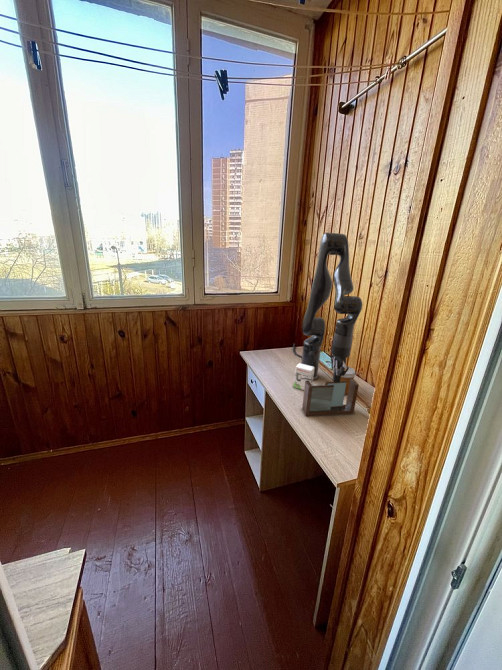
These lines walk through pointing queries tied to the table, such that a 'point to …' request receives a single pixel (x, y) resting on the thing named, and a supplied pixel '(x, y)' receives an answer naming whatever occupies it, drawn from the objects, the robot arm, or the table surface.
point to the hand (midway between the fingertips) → (336, 381)
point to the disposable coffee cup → (348, 377)
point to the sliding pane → (337, 391)
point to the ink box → (303, 375)
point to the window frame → (327, 399)
